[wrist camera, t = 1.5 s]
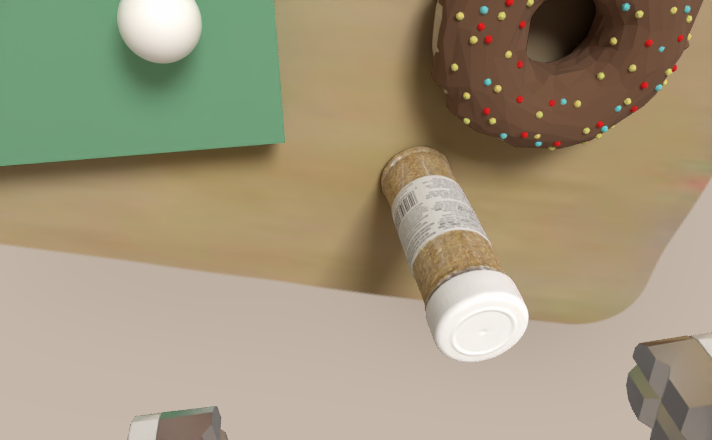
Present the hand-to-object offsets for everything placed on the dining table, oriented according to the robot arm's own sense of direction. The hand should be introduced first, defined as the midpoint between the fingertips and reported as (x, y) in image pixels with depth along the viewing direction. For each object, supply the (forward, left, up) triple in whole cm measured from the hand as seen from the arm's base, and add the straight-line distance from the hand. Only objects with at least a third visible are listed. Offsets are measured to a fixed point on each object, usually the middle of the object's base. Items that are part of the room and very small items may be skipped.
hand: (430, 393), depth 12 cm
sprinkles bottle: (+12, +6, -25) cm, 28 cm away
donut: (+2, +13, -25) cm, 29 cm away
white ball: (0, -7, -21) cm, 22 cm away
